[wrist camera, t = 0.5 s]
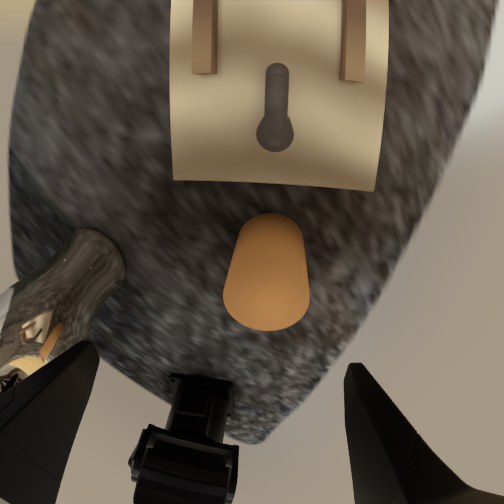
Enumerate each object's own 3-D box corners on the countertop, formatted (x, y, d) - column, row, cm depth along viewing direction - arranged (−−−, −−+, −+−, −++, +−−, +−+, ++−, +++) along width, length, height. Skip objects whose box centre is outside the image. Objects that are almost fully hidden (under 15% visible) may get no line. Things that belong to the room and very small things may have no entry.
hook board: (369, 186, 18) (395, 220, 14) (178, 175, 19) (147, 205, 15) (382, -25, 11) (412, -53, 7) (179, -34, 12) (147, -63, 8)
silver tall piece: (135, 302, 25) (55, 459, 12) (68, 286, 25) (-22, 414, 12) (127, 227, 21) (-1, 394, 8) (54, 217, 22) (-74, 341, 9)
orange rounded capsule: (300, 272, 22) (304, 332, 17) (237, 268, 22) (224, 327, 17) (306, 215, 20) (314, 265, 15) (237, 211, 20) (221, 259, 15)
